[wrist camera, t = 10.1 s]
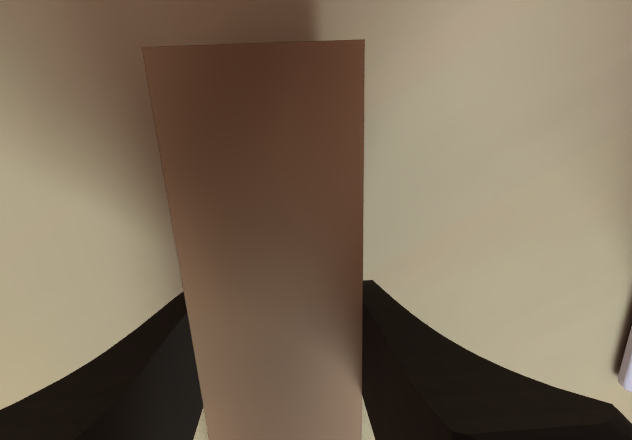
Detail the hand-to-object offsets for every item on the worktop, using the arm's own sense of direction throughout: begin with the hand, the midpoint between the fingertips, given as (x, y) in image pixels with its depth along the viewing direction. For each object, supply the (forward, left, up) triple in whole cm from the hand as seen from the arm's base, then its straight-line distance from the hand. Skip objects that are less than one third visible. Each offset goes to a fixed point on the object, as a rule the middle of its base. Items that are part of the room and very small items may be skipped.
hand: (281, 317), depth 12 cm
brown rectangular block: (0, +2, -2) cm, 3 cm away
